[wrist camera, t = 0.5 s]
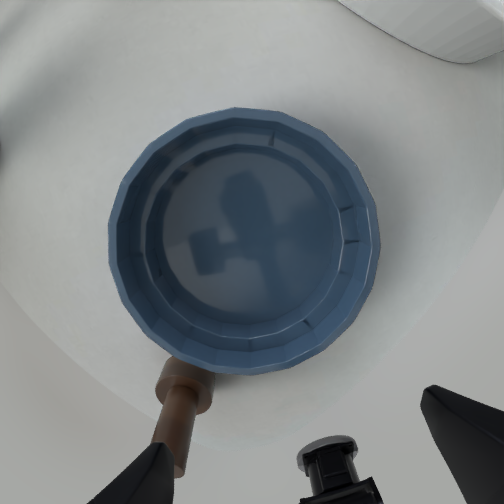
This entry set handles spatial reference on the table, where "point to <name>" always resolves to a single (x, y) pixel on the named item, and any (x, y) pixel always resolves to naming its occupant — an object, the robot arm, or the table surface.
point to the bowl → (243, 241)
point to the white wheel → (439, 25)
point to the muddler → (181, 406)
